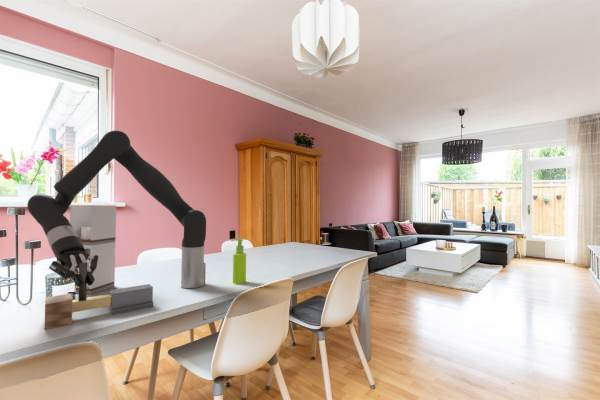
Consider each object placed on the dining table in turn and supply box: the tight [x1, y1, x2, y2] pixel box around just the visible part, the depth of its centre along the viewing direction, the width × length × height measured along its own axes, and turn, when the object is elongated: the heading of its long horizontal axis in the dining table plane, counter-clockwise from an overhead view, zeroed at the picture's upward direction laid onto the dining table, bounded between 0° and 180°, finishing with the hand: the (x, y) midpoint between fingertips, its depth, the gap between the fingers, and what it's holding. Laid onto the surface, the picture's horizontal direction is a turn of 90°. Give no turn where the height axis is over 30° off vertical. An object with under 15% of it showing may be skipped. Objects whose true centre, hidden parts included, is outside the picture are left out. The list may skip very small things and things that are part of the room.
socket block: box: [43, 293, 73, 330], centre depth 85 cm, size 6×8×7 cm
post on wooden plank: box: [72, 262, 112, 314], centre depth 90 cm, size 18×3×14 cm, turn 131°
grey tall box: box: [69, 204, 117, 295], centre depth 119 cm, size 11×11×35 cm
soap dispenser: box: [230, 238, 247, 285], centre depth 131 cm, size 6×7×20 cm
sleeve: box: [108, 283, 154, 316], centre depth 97 cm, size 12×7×6 cm, turn 131°
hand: (86, 284), depth 88 cm, fingers closed on post on wooden plank, 2 cm apart
